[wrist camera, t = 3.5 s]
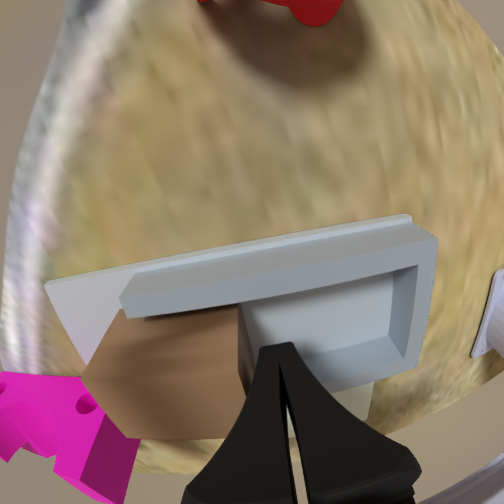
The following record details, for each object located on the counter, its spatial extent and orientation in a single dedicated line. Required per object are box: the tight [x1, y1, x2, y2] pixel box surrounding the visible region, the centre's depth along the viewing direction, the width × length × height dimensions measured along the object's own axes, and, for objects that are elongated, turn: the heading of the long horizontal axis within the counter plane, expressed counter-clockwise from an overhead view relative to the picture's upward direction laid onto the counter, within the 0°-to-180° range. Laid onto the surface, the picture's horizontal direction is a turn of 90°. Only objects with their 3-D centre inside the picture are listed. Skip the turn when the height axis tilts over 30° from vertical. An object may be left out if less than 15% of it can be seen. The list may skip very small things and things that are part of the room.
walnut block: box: [80, 302, 255, 440], centre depth 11 cm, size 6×4×5 cm, turn 100°
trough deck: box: [44, 213, 438, 394], centre depth 13 cm, size 19×8×3 cm, turn 100°
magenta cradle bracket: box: [0, 371, 141, 504], centre depth 13 cm, size 15×6×8 cm, turn 103°
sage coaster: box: [287, 382, 374, 438], centre depth 17 cm, size 7×7×1 cm
